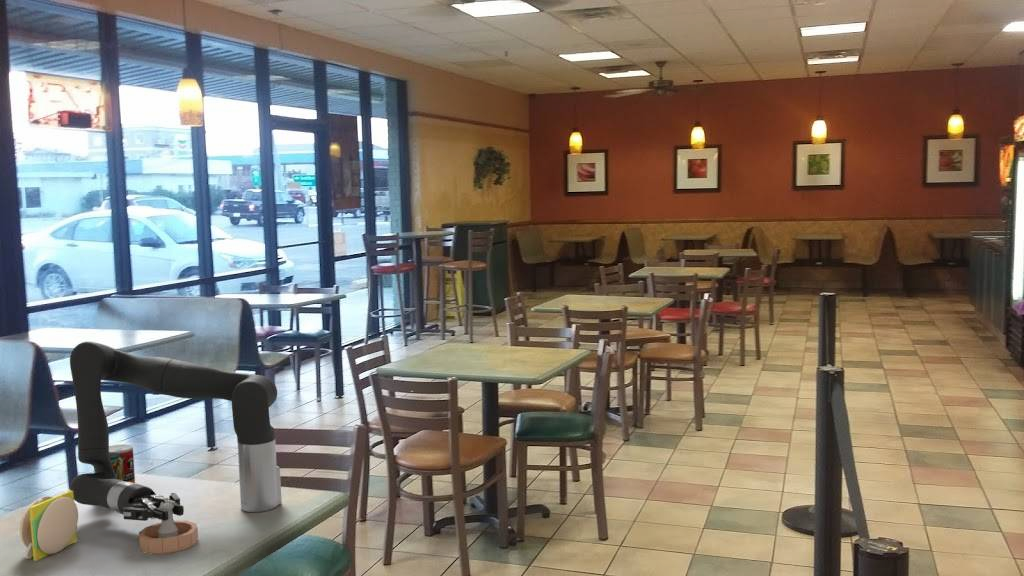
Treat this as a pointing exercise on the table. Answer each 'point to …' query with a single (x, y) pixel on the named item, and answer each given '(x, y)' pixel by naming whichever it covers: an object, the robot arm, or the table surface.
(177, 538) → the dish
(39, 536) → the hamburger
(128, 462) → the canned food
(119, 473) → the beverage can
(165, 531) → the rook chess piece
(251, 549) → the table surface
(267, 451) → the robot arm
